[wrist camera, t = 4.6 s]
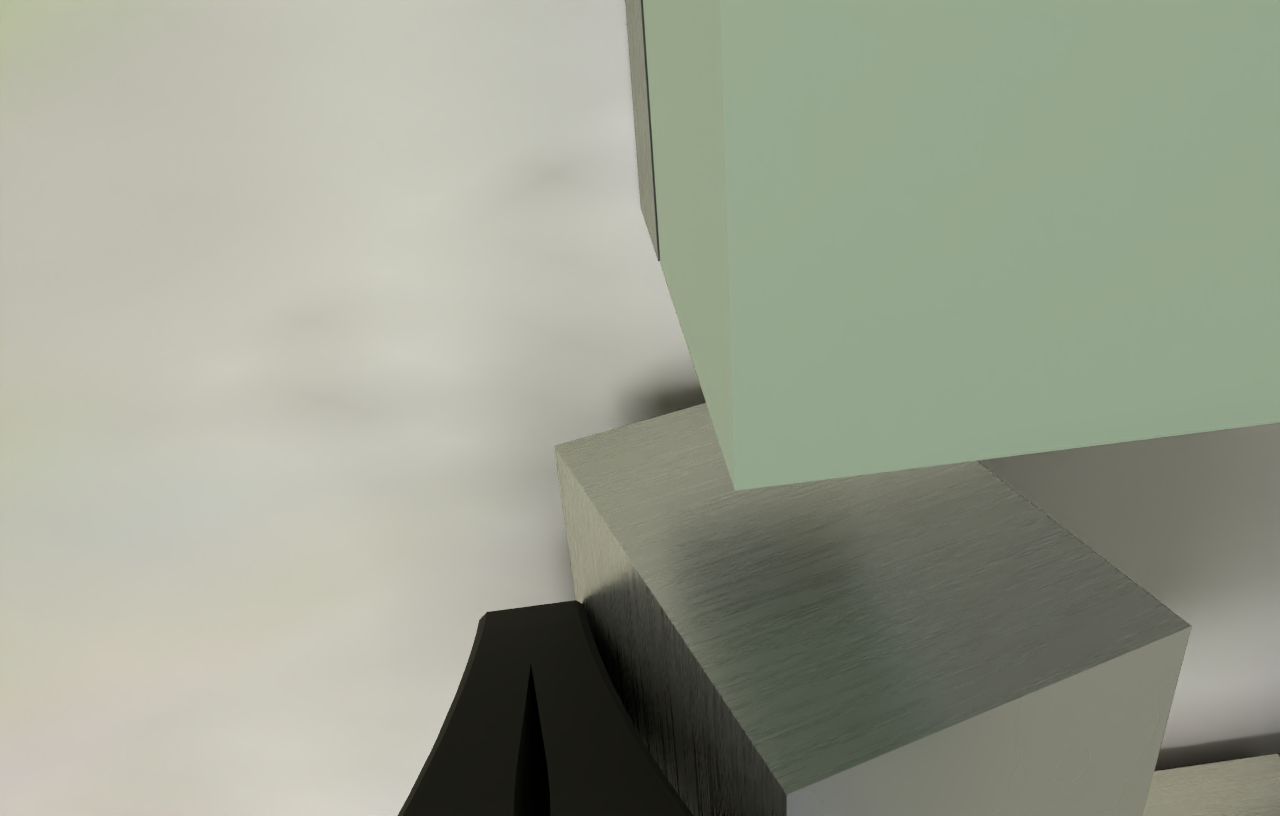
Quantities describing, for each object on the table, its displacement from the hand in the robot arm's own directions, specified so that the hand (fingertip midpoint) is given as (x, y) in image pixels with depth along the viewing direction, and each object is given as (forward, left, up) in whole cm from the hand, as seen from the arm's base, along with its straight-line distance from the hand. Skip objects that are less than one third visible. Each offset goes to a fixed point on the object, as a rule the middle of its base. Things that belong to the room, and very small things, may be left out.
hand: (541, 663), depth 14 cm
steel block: (0, -2, -1) cm, 3 cm away
